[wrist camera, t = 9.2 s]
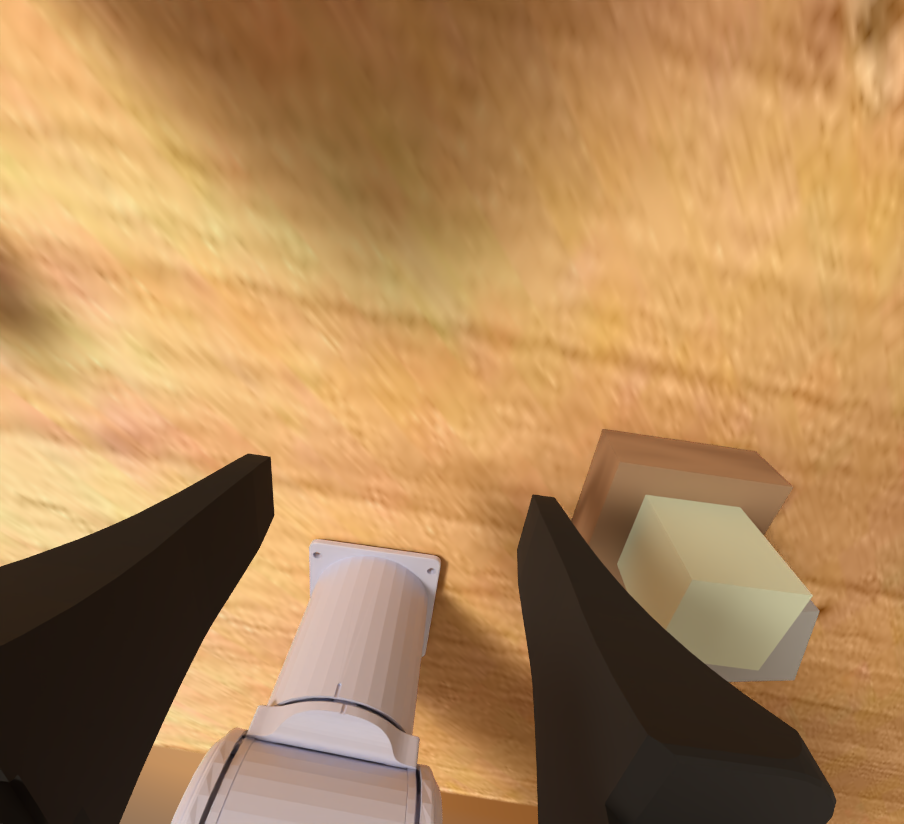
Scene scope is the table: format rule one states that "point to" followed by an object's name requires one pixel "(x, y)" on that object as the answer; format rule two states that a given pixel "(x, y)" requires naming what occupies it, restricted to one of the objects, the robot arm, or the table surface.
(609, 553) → the walnut block
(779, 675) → the slate block
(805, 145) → the table surface
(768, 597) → the sage block
